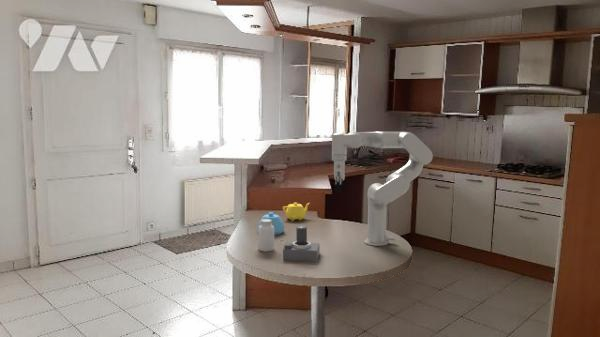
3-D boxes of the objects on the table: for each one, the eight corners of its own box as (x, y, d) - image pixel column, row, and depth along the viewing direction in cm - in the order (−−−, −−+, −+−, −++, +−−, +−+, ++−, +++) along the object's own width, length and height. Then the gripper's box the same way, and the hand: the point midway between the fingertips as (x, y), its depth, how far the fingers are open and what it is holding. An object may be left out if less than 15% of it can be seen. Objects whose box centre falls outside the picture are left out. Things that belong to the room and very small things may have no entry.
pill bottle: (268, 252, 228) (268, 223, 226) (255, 250, 232) (254, 220, 230) (277, 248, 235) (277, 219, 232) (264, 246, 239) (264, 217, 237)
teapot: (307, 216, 302) (307, 200, 301) (312, 220, 292) (312, 203, 290) (280, 218, 298) (280, 201, 296) (284, 222, 287) (284, 205, 286)
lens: (307, 244, 224) (307, 226, 223) (306, 247, 219) (305, 228, 218) (297, 244, 225) (297, 225, 224) (295, 247, 220) (295, 228, 219)
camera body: (319, 253, 228) (319, 240, 227) (316, 261, 216) (316, 247, 215) (287, 251, 230) (287, 238, 229) (282, 259, 218) (282, 245, 217)
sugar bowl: (268, 237, 254) (268, 217, 252) (252, 231, 265) (252, 212, 264) (289, 233, 263) (289, 213, 262) (273, 227, 275) (273, 208, 273)
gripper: (345, 159, 228) (345, 193, 230) (347, 155, 245) (346, 187, 247) (330, 159, 229) (330, 193, 231) (333, 155, 246) (332, 187, 248)
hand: (338, 190), depth 239 cm, fingers open, 9 cm apart
